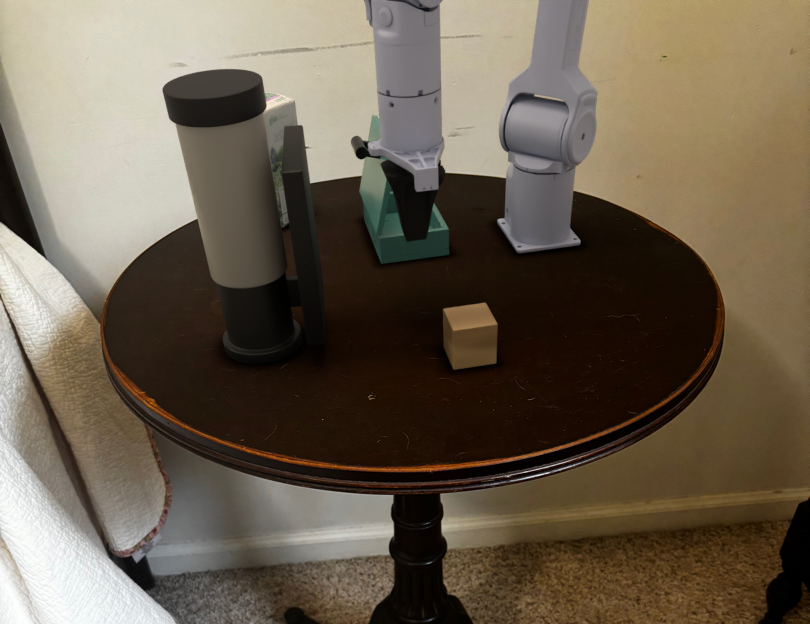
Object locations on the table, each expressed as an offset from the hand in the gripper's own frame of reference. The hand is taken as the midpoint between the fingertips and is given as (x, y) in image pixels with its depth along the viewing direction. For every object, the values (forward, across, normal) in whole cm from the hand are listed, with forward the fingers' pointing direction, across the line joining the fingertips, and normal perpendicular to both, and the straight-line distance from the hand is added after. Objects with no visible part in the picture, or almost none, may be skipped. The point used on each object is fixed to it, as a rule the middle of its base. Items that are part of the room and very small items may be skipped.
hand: (415, 237), depth 80 cm
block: (+9, +9, +4) cm, 13 cm away
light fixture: (+9, +1, -16) cm, 18 cm away
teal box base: (+9, -20, +2) cm, 22 cm away
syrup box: (+9, -31, -13) cm, 35 cm away
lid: (+1, -20, 0) cm, 20 cm away
